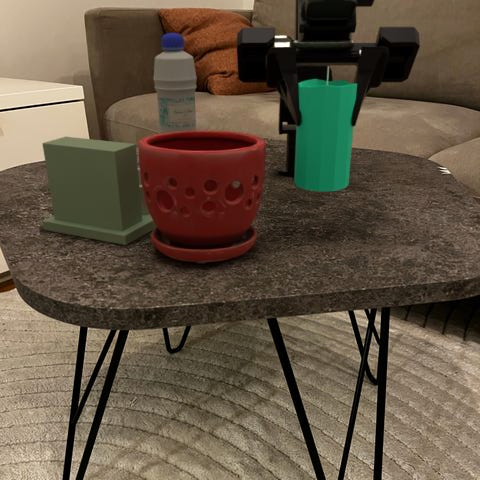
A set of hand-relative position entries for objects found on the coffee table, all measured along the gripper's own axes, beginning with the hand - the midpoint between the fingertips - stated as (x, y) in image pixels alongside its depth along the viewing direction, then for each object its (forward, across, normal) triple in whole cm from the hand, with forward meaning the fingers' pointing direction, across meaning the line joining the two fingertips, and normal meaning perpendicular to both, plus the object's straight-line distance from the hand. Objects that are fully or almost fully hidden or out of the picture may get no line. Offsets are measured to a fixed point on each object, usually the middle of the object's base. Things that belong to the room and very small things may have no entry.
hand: (326, 123), depth 61 cm
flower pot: (+11, -13, +8) cm, 18 cm away
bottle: (-15, -20, +34) cm, 42 cm away
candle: (+4, 0, +6) cm, 7 cm away
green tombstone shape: (+2, -24, +16) cm, 29 cm away
